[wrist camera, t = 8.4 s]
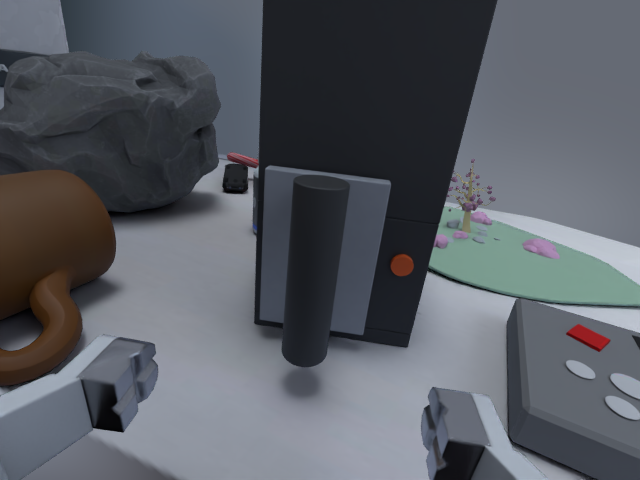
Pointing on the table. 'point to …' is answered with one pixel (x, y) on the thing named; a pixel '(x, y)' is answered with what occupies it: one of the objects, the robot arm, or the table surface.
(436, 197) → the coffee maker
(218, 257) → the table surface
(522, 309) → the electronic device
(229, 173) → the toy car
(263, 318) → the drawer
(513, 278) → the plant
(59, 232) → the mug
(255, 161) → the candy cane
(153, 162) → the rock
